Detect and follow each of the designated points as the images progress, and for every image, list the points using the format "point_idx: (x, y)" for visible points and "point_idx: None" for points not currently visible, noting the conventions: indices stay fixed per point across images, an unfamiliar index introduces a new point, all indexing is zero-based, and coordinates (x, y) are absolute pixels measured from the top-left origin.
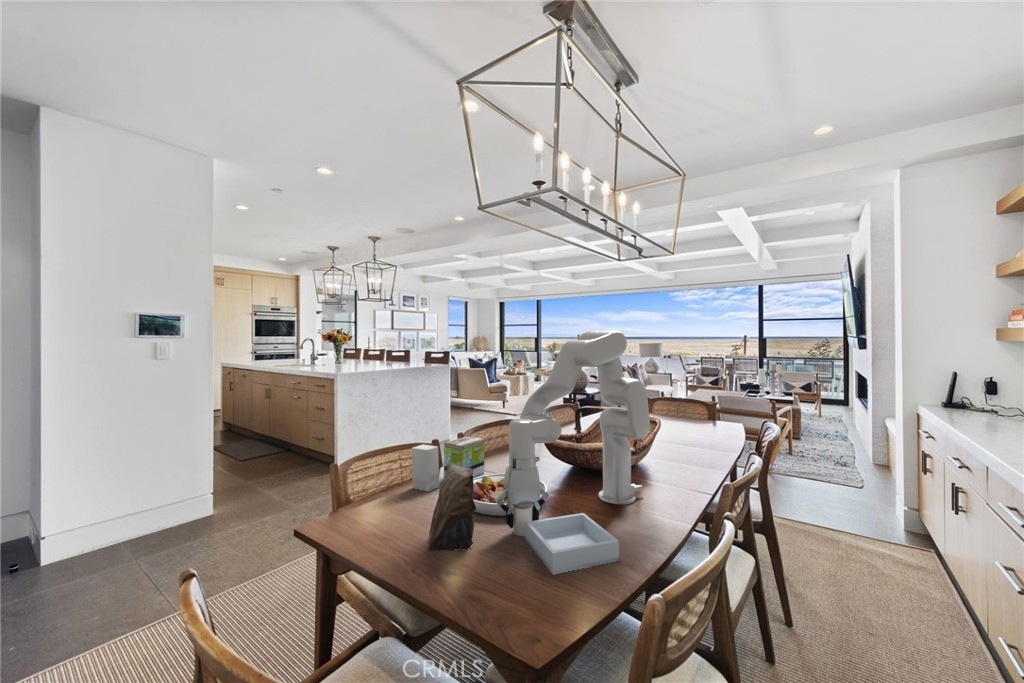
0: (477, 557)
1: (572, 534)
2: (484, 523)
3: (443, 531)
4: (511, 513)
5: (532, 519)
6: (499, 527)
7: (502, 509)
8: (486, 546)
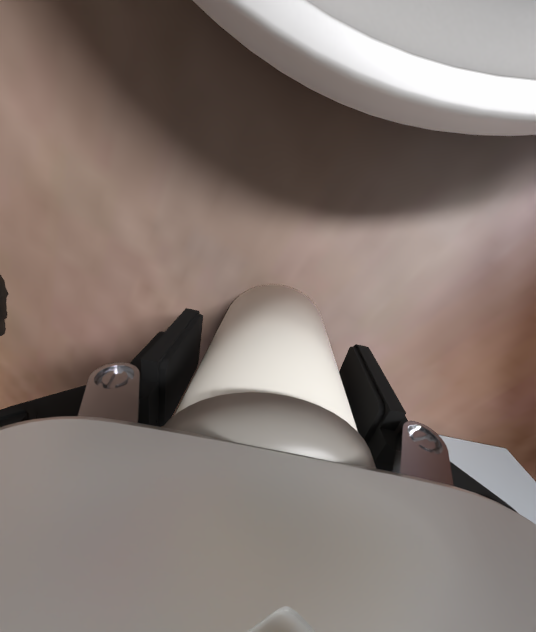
0: (25, 399)
1: None
2: (94, 80)
3: None
4: (154, 420)
5: (348, 364)
6: (180, 214)
7: (240, 40)
8: (67, 355)
